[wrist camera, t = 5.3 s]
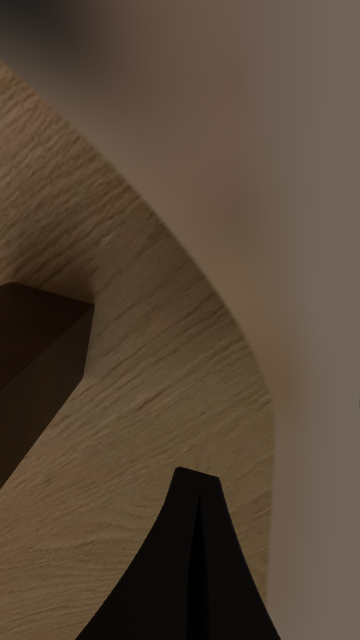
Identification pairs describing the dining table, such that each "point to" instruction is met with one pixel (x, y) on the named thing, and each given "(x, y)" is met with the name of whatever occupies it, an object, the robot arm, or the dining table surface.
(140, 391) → the dining table surface
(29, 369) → the walnut block
